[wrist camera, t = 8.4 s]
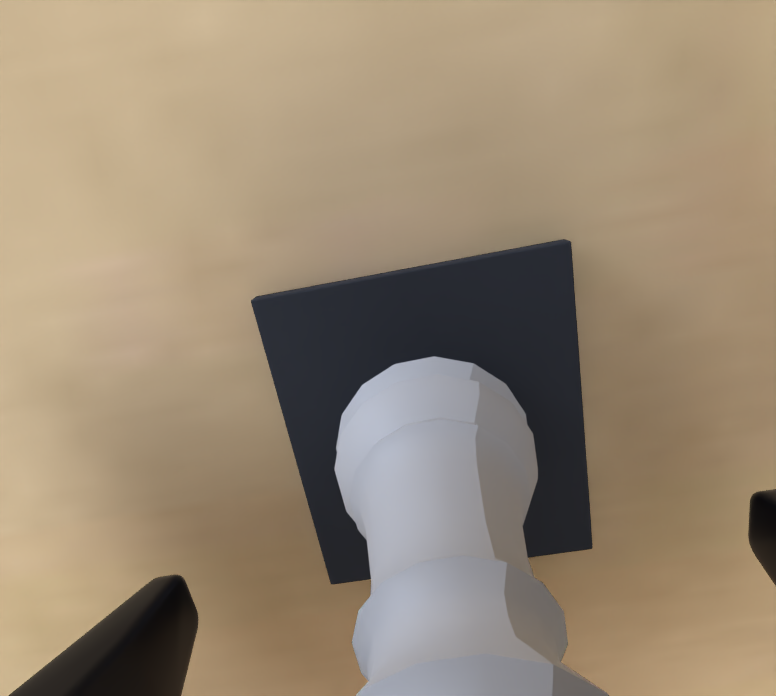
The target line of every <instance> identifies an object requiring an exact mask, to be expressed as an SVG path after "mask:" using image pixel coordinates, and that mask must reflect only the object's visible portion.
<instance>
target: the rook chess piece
mask: <svg viewBox="0 0 776 696" xmlns="http://www.w3.org/2000/svg"><path fill="white" fill-rule="evenodd" d="M336 450H337V457H336V463H335V468H334V470H335V473H336V477H337V480H338V484H339V487H340V491H341V494H342V498H343V502H344V505H345V509H346V512H347V513H348V514H349V515H350V517H351V518H352V519H353V520H354V521H355V523H356V525H357V529H358V530H359V532H360V533H361V534H362V535H363V536H364V538H365V539H366V540H367V547H368V556H369V566H370V575H371V595H370V597H369V598H368V600H367V601H366V602H365V603H364V605H363V606H362V607H361V608H360V609H359V611H358V615H357V620H356V625H355V630H354V634H353V639H352V645H353V648H354V651H355V655H356V658H357V661H358V664H359V667H360V671H361V673H362V674H363V676H364V677H365V678H366V679H367V680H368V682H367V683H366V685H365V686H364V687H363V688H362V689H361V690H360V691H359V692H358V693H357V695H356V696H609V695H608V694H607V693H606V692H605V691H603V690H602V689H600V688H599V687H597V686H596V685H594V684H593V683H591V682H590V681H588V680H587V679H585V678H584V677H582V676H581V675H579V674H578V673H576V672H575V671H573V670H572V669H570V668H569V667H567V666H566V665H564V664H563V663H561V660H562V658H563V655H564V653H565V650H566V648H567V645H568V640H567V632H566V624H565V617H564V611H563V610H562V608H561V607H560V606H559V604H558V603H557V601H556V600H555V599H554V597H553V596H552V595H551V593H550V592H549V591H548V589H547V588H546V586H545V585H544V584H543V582H541V581H539V580H537V579H535V577H534V574H533V572H532V569H531V566H530V563H529V560H528V556H527V550H526V544H525V538H524V532H523V524H524V520H525V517H526V514H527V511H528V508H529V505H530V502H531V498H532V495H533V492H534V489H535V486H536V483H537V480H538V466H537V459H536V451H535V444H534V437H533V433H532V431H531V430H530V428H529V427H528V425H527V419H526V414H525V412H524V410H523V409H522V407H521V406H520V404H519V403H518V401H517V400H516V398H515V397H514V395H513V394H512V392H511V391H510V389H509V388H508V386H507V385H506V384H505V383H504V382H502V381H501V380H499V379H497V378H496V377H494V376H493V375H491V374H489V373H488V372H486V371H485V370H483V369H482V368H480V367H478V366H477V365H475V364H474V363H468V362H463V361H457V360H452V359H446V358H441V357H435V356H433V357H428V358H423V359H418V360H413V361H408V362H403V363H398V364H394V365H392V366H391V367H389V368H388V369H386V370H385V371H383V372H382V373H380V374H378V375H377V376H375V377H374V378H372V379H371V380H369V381H367V382H366V383H364V384H363V385H362V386H361V387H360V389H359V390H358V392H357V393H356V395H355V396H354V398H353V399H352V400H351V402H350V403H349V405H348V406H347V408H346V409H345V411H344V412H343V414H342V416H341V422H340V428H339V434H338V440H337V446H336Z"/></svg>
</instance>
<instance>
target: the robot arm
mask: <svg viewBox="0 0 776 696" xmlns="http://www.w3.org/2000/svg"><path fill="white" fill-rule="evenodd" d="M748 536H749V543H750V546H751V548H752V550H753V552H754V554H755V556H756V557H757V559H758V560H759V562H760V563H761V565H762V566H763V568H764V569H765V571H766V572H767V574H768V575H769V577H770V578H771V579H772V581H773V582H774V584H775V585H776V489H773V490H766V491H759V492H756V493H754V494H753V495H752V497H751V500H750V513H749V533H748ZM197 629H198V613H197V609H196V607H195V604H194V602H193V599H192V597H191V594H190V592H189V589H188V587H187V584H186V582H185V580H184V578H183V577H182V576H180V575H170V576H163V577H158V578H155V579H153V580H152V581H150V582H149V583H148V584H147V585H145V586H144V587H143V588H142V589H140V590H139V591H138V592H137V593H135V594H134V595H133V596H132V597H130V598H129V599H128V600H127V601H125V602H124V603H123V604H122V605H120V606H119V607H118V608H117V609H115V610H114V611H113V612H112V613H111V614H109V615H108V616H107V617H106V618H104V619H103V620H102V621H101V622H99V623H98V624H97V625H96V626H94V627H93V628H92V629H91V630H89V631H88V632H87V633H86V634H84V635H83V636H82V637H81V638H79V639H78V640H77V641H76V642H75V643H73V644H72V645H71V646H70V647H68V648H67V649H66V650H65V651H63V652H62V653H61V654H60V655H58V656H57V657H56V658H55V659H53V660H52V661H51V662H50V663H48V664H47V665H46V666H45V667H43V668H42V669H41V670H40V671H38V672H37V673H36V674H35V675H34V676H32V677H31V678H30V679H29V680H27V681H26V682H25V683H24V684H22V685H21V686H20V687H19V688H17V689H16V690H15V691H14V692H12V693H11V694H10V695H9V696H181V694H182V690H183V686H184V682H185V678H186V674H187V670H188V666H189V662H190V658H191V653H192V649H193V645H194V641H195V637H196V633H197Z"/></svg>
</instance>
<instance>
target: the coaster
mask: <svg viewBox="0 0 776 696" xmlns="http://www.w3.org/2000/svg"><path fill="white" fill-rule="evenodd" d="M251 303H252V307H253V310H254V314H255V317H256V321H257V324H258V328H259V331H260V335H261V338H262V342H263V346H264V349H265V353H266V356H267V360H268V363H269V367H270V370H271V374H272V377H273V381H274V384H275V388H276V391H277V395H278V399H279V402H280V406H281V409H282V413H283V416H284V420H285V423H286V427H287V430H288V434H289V437H290V441H291V445H292V448H293V452H294V455H295V459H296V462H297V466H298V469H299V473H300V476H301V480H302V483H303V487H304V490H305V494H306V498H307V501H308V505H309V508H310V512H311V515H312V519H313V522H314V526H315V529H316V533H317V536H318V540H319V543H320V547H321V551H322V554H323V558H324V561H325V565H326V568H327V572H328V575H329V579H330V582H331V584H339V583H346V582H353V581H361V580H368V579H371V575H370V566H369V556H368V547H367V540H366V539H365V538H364V536H363V535H362V534H361V533H360V532H359V530H358V529H357V525H356V523H355V521H354V520H353V519H352V518H351V517H350V515H349V514H348V513H347V512H346V509H345V505H344V502H343V498H342V494H341V491H340V487H339V484H338V480H337V477H336V473H335V470H334V468H335V463H336V457H337V450H336V446H337V440H338V434H339V428H340V422H341V416H342V414H343V412H344V411H345V409H346V408H347V406H348V405H349V403H350V402H351V400H352V399H353V398H354V396H355V395H356V393H357V392H358V390H359V389H360V387H361V386H362V385H363V384H364V383H366V382H367V381H369V380H371V379H372V378H374V377H375V376H377V375H378V374H380V373H382V372H383V371H385V370H386V369H388V368H389V367H391V366H392V365H394V364H398V363H403V362H408V361H413V360H418V359H423V358H428V357H433V356H435V357H441V358H446V359H452V360H457V361H463V362H468V363H474V364H475V365H477V366H478V367H480V368H482V369H483V370H485V371H486V372H488V373H489V374H491V375H493V376H494V377H496V378H497V379H499V380H501V381H502V382H504V383H505V384H506V385H507V386H508V388H509V389H510V391H511V392H512V394H513V395H514V397H515V398H516V400H517V401H518V403H519V404H520V406H521V407H522V409H523V410H524V412H525V414H526V419H527V425H528V427H529V428H530V430H531V431H532V433H533V437H534V444H535V451H536V459H537V466H538V480H537V483H536V486H535V489H534V492H533V495H532V498H531V502H530V505H529V508H528V511H527V514H526V517H525V520H524V524H523V532H524V538H525V544H526V550H527V556H528V557H536V556H543V555H550V554H558V553H565V552H572V551H579V550H587V549H592V533H591V519H590V504H589V490H588V476H587V462H586V448H585V433H584V419H583V405H582V391H581V377H580V363H579V348H578V334H577V320H576V306H575V292H574V277H573V263H572V249H571V242H570V241H568V240H564V239H563V240H558V241H552V242H547V243H542V244H536V245H531V246H526V247H520V248H515V249H509V250H504V251H499V252H493V253H488V254H483V255H477V256H472V257H466V258H461V259H456V260H450V261H445V262H440V263H434V264H429V265H423V266H418V267H413V268H407V269H402V270H397V271H391V272H386V273H380V274H375V275H370V276H364V277H359V278H354V279H348V280H343V281H337V282H332V283H327V284H321V285H316V286H311V287H305V288H300V289H294V290H289V291H284V292H278V293H273V294H268V295H262V296H257V297H255V298H254V299H253V300H251Z"/></svg>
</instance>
